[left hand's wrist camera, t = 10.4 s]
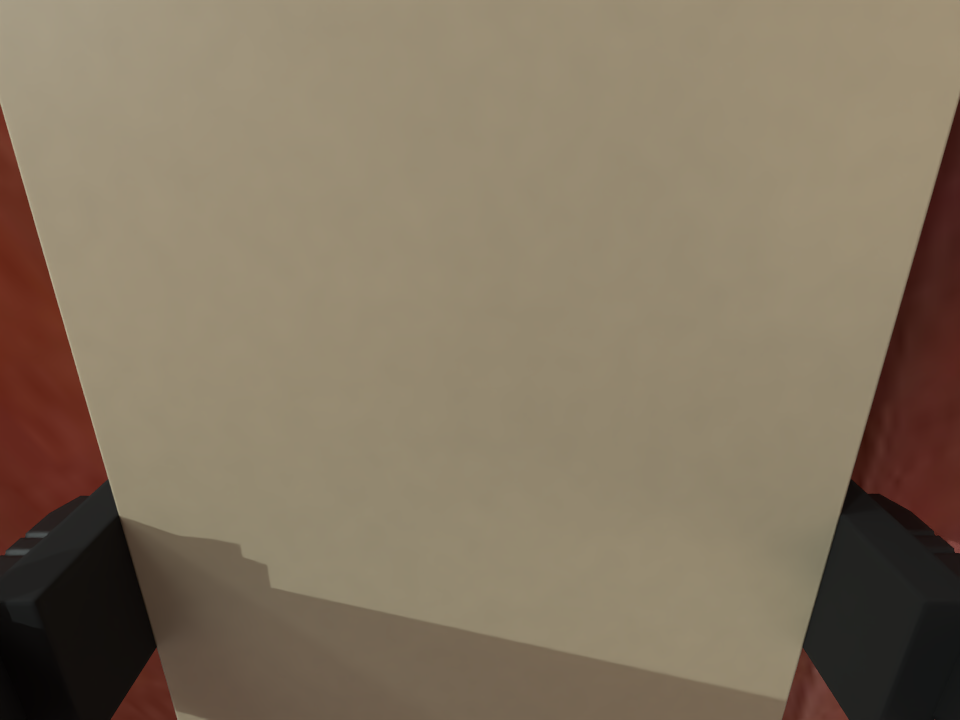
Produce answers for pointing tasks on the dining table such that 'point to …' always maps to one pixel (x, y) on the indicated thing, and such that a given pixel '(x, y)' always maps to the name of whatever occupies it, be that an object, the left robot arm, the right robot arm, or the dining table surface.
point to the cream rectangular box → (479, 330)
